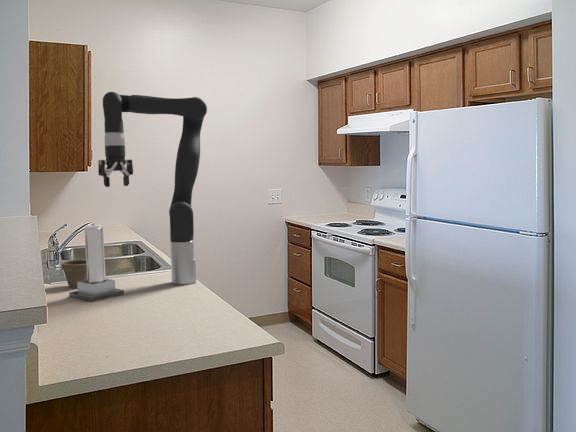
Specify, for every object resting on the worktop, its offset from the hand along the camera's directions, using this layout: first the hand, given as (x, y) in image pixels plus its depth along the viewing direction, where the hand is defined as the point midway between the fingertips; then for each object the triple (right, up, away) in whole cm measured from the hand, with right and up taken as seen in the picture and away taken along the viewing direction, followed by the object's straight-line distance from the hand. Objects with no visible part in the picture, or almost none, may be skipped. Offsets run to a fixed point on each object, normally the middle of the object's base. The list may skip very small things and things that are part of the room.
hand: (116, 186), depth 211 cm
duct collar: (-4, -41, -10) cm, 43 cm away
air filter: (-4, -40, -10) cm, 42 cm away
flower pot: (-17, -40, +5) cm, 44 cm away
